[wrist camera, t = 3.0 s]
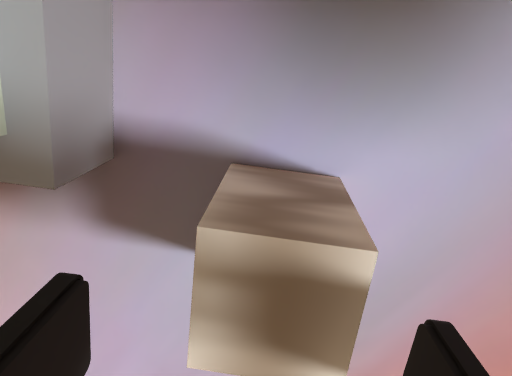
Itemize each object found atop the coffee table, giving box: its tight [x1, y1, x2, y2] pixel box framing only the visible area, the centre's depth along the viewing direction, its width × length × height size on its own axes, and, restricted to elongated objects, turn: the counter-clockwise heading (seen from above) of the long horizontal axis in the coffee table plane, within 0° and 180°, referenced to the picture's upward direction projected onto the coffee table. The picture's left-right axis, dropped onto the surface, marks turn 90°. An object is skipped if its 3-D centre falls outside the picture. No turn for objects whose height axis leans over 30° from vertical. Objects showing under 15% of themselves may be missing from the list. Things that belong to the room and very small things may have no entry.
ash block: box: [187, 163, 378, 376], centre depth 14 cm, size 5×5×7 cm
